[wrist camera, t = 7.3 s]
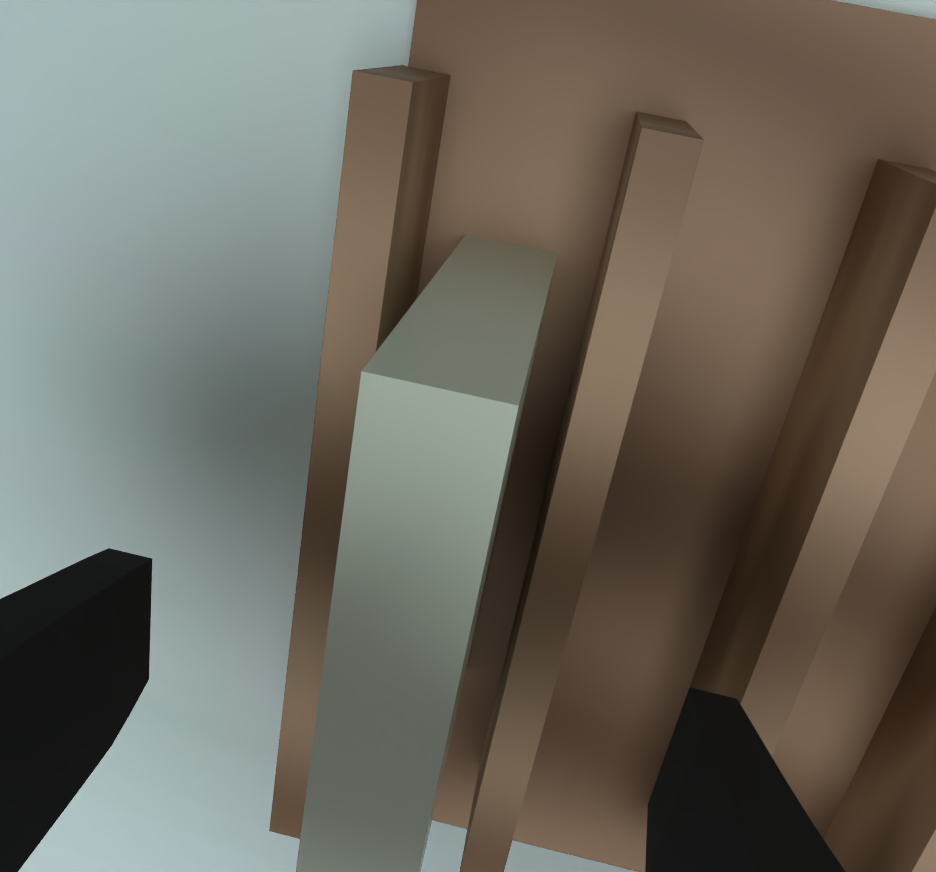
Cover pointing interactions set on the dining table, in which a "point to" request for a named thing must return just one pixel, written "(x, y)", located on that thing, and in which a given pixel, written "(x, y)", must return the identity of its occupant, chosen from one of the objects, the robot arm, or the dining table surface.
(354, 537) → the upright gray panel
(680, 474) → the walnut rack
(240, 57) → the dining table surface
